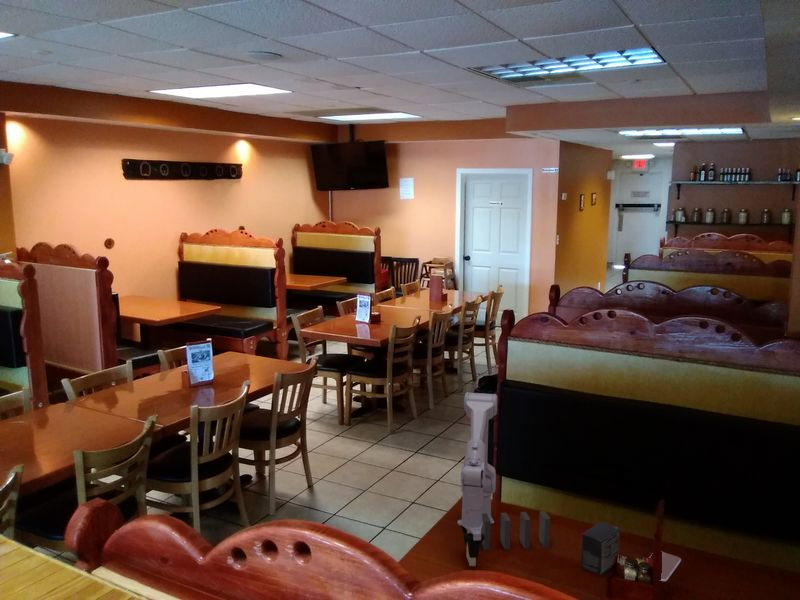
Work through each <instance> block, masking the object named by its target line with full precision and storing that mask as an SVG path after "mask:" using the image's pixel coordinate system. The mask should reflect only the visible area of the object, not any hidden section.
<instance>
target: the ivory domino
mask: <svg viewBox="0 0 800 600" xmlns="http://www.w3.org/2000/svg"><path fill="white" fill-rule="evenodd" d="M467 533H471V532H469V531H468V530H467ZM466 559H467V561H468V564H469V566H470V567H476V565H477V564H476V563H477V562H476V561H477V559H476V558H470V556H469V552H468V544H467V547H466Z"/></svg>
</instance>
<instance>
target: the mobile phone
mask: <svg viewBox="0 0 800 600" xmlns="http://www.w3.org/2000/svg"><path fill="white" fill-rule="evenodd" d="M661 552H662V573H661V580H660V581H661V582H667V581H668V580H669V578H670V576H672V574H673V572H674V571H675V570H676V569H677V568H678V566H679V564H680V563H681V562H682V559H681V557H679V556H677V555H674V554H671V553H670V554H669V553H667V552H665V551H661ZM651 556H652V554H651V555H650V556H649V557H648V558H651Z"/></svg>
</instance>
